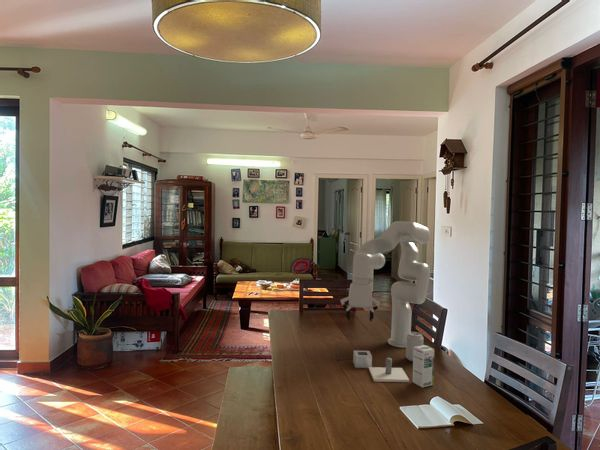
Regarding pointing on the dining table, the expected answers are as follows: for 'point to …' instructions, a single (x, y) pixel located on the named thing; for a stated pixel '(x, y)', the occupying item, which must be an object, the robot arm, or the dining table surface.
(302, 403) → the dining table surface
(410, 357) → the can
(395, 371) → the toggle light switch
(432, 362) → the syrup box
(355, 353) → the grey hollow square block
